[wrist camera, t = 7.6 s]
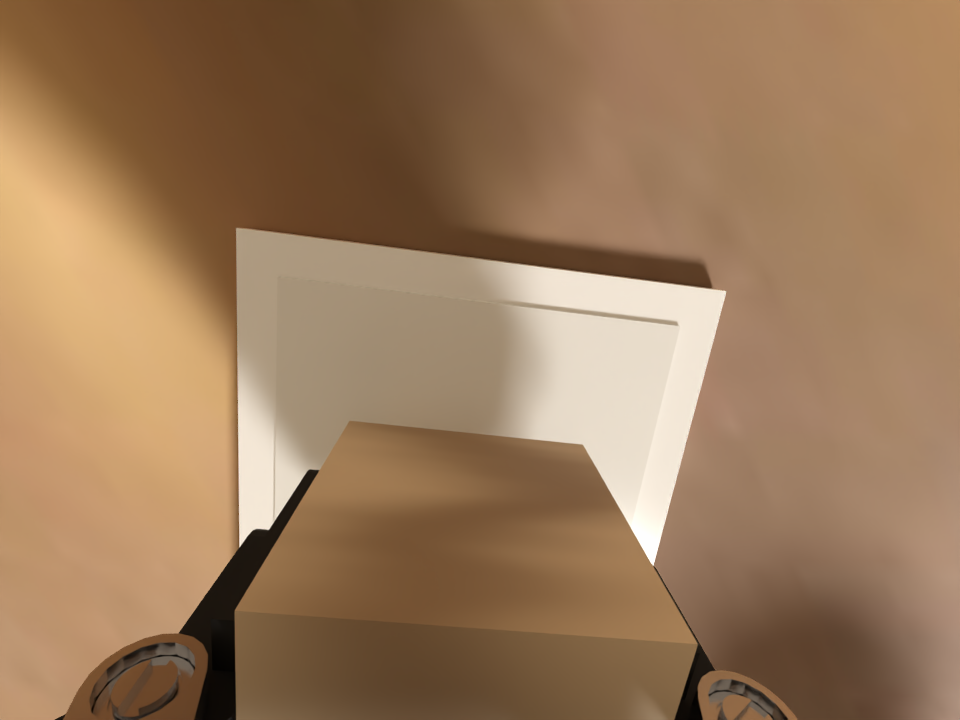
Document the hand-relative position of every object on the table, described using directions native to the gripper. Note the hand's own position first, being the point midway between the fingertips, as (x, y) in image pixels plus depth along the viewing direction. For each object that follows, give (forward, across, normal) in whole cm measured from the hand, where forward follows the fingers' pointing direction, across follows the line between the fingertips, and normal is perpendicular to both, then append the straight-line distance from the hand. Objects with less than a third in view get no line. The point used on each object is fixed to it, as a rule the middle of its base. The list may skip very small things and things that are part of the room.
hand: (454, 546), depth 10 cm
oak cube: (+1, 0, 0) cm, 1 cm away
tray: (+3, 0, 0) cm, 3 cm away
